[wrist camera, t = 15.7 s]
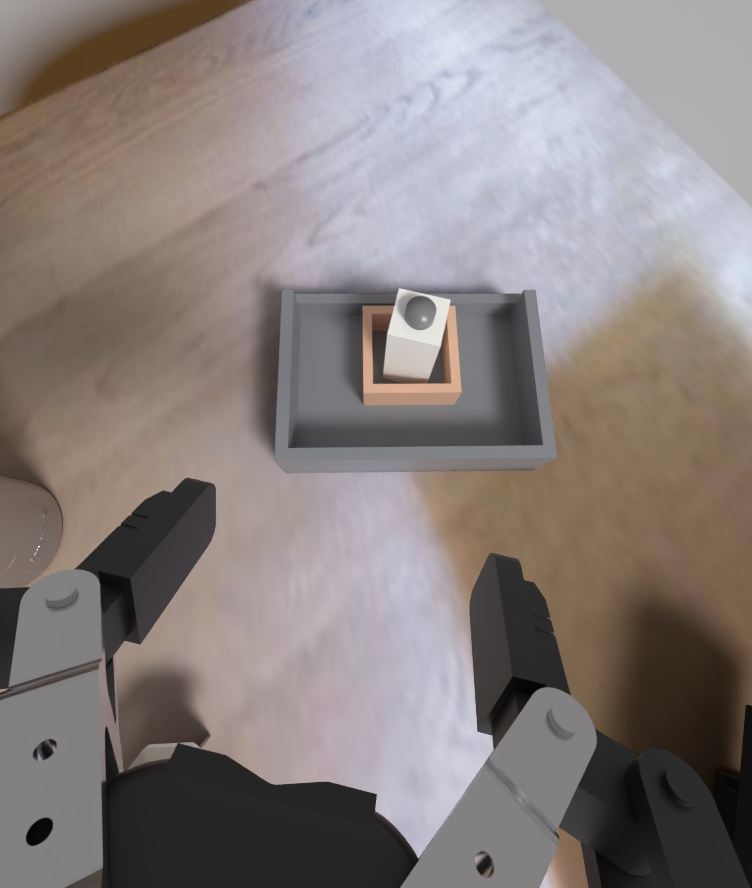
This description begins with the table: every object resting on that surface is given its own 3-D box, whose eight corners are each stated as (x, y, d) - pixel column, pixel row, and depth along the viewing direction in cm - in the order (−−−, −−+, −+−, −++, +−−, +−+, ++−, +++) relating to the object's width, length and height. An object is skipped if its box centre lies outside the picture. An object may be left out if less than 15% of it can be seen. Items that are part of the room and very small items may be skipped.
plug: (425, 388, 39) (442, 339, 30) (382, 378, 39) (387, 327, 30) (434, 349, 40) (453, 291, 31) (392, 340, 40) (400, 279, 31)
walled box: (286, 473, 37) (274, 460, 32) (292, 312, 41) (282, 279, 36) (532, 469, 38) (557, 457, 33) (514, 311, 42) (534, 280, 37)
